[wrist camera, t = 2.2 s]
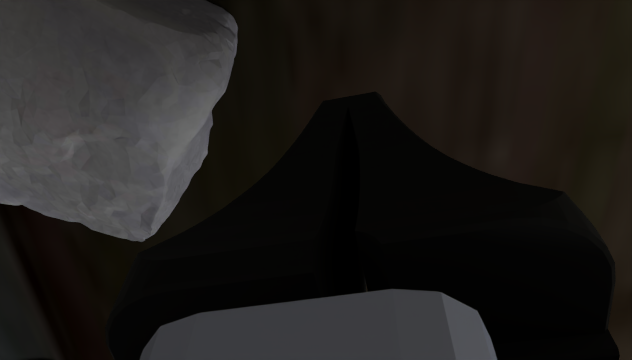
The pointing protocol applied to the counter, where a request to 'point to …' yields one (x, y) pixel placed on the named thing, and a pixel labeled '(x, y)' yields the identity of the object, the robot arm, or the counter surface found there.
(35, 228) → the counter surface
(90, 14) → the stone block
